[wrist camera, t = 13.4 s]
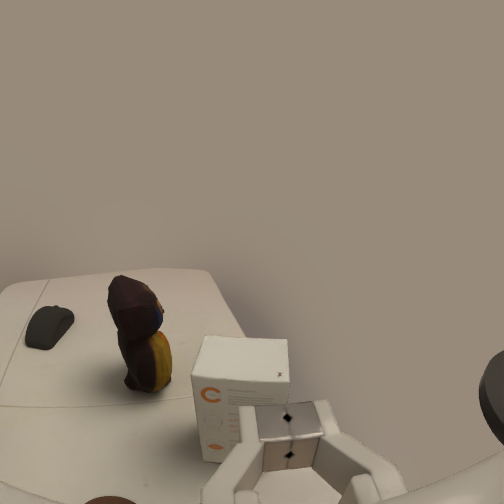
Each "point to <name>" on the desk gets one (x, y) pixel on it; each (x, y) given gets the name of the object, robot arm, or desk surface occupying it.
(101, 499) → the coaster
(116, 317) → the figurine
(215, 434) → the small box
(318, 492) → the desk surface
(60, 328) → the computer mouse
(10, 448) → the desk surface
